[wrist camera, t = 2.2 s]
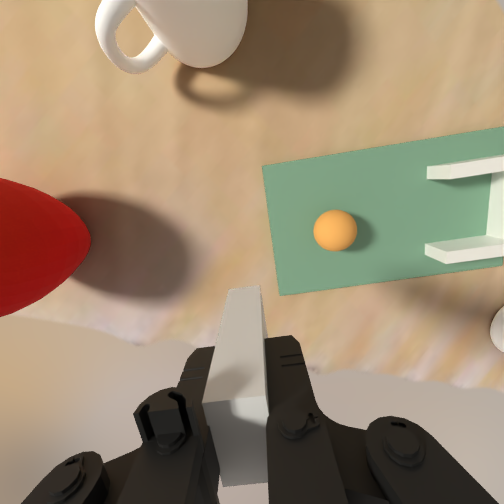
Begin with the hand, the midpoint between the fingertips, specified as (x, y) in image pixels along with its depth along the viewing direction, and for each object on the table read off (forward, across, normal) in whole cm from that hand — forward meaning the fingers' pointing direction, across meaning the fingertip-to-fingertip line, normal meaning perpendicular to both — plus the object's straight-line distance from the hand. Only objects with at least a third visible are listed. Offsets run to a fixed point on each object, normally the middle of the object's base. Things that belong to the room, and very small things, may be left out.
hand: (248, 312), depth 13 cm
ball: (+13, +8, 0) cm, 15 cm away
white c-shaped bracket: (+15, +22, 0) cm, 27 cm away
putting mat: (+16, +14, 0) cm, 21 cm away
